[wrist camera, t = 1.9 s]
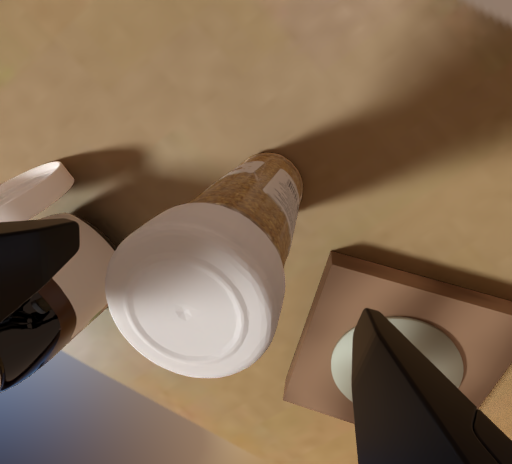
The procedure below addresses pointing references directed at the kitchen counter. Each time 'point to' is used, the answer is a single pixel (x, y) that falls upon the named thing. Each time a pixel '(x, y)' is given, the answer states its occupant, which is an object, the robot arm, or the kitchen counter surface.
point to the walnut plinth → (407, 322)
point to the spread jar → (59, 287)
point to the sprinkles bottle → (209, 272)
